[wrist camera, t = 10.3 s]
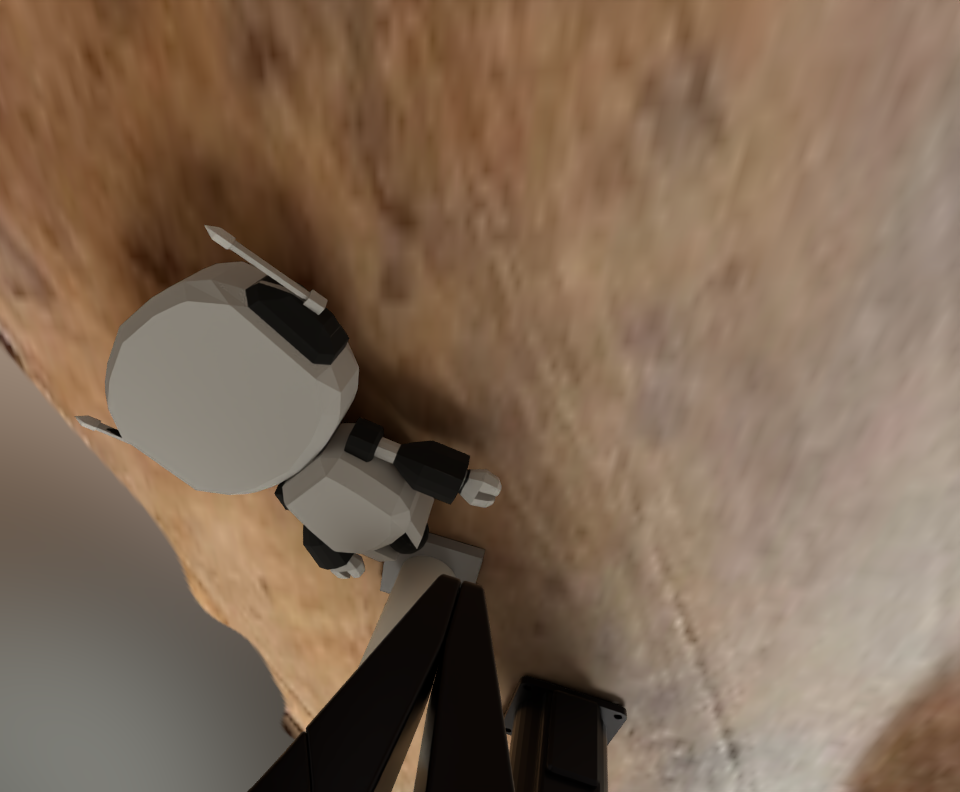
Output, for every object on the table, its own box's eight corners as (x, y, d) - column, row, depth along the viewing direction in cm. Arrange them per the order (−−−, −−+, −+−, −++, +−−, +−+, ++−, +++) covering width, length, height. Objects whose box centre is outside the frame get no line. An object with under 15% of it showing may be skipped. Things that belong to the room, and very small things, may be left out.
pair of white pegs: (467, 608, 28) (421, 786, 20) (384, 582, 28) (308, 747, 21) (749, -349, 10) (1151, -1564, 3) (514, -384, 10) (320, -1540, 3)
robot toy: (527, 446, 22) (260, 184, 18) (518, 521, 19) (177, 215, 14) (364, 543, 28) (131, 366, 23) (333, 615, 24) (47, 421, 20)
